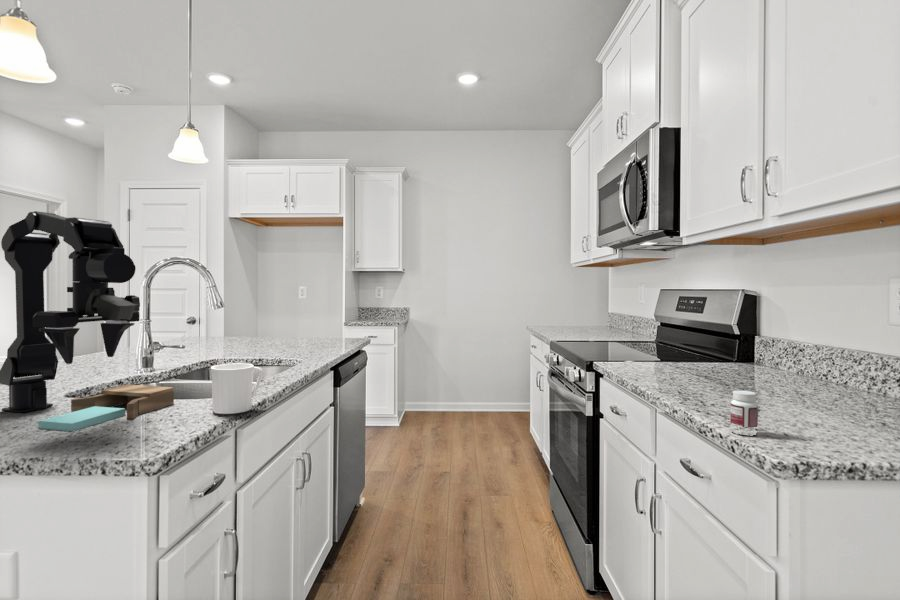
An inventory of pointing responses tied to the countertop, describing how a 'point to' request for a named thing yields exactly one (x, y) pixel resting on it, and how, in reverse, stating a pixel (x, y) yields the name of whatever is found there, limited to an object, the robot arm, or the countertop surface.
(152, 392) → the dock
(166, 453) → the countertop surface
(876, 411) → the countertop surface
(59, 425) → the panel
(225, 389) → the mug
